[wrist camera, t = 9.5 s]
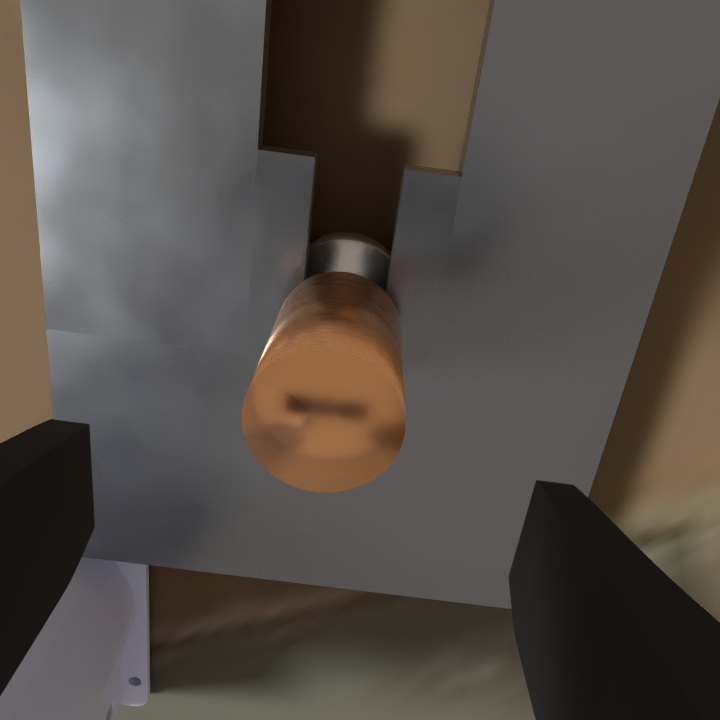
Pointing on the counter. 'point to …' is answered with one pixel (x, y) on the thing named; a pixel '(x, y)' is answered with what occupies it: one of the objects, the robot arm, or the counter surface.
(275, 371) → the peg
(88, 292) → the keyhole plate
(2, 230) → the counter surface
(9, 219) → the counter surface
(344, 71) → the counter surface
